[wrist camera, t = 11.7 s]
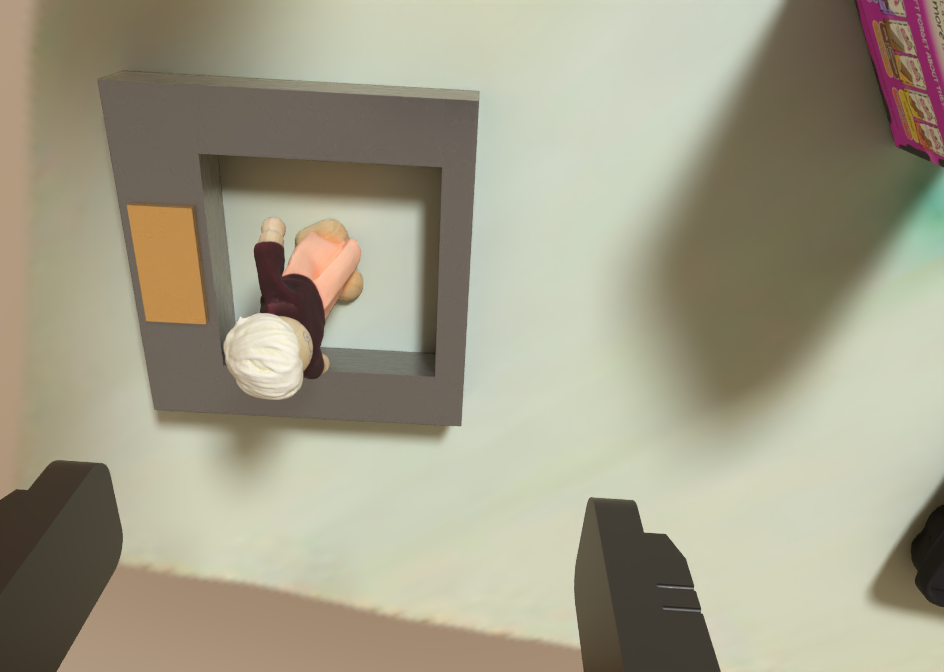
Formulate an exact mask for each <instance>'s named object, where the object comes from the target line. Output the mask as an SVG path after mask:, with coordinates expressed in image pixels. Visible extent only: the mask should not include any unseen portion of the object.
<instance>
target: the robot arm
mask: <svg viewBox="0 0 944 672" xmlns="http://www.w3.org/2000/svg"><path fill="white" fill-rule="evenodd" d="M122 543H123V533H122V527H121V523H120V518H119V513H118V508H117V504H116V499H115V494H114V490H113V485H112V480H111V476H110V472H109V469H108V467H107V466H106V465H105V464H103V463H92V462H77V461H62V460H56V461H53V462H52V463H50V464H49V465H48V466H47V467H46V469H45V470H44V471H43V472H42V473H41V475H40V476H39V477H38V478H37V480H36V481H35V482H34V483H33V484H32V486H31V487H30V488H29V489H28V490H17V489H16V490H15V491H13V492H12V493H10V494H9V495H7V496H6V497H4V498H3V499H1V500H0V672H56V671H57V670H58V668H59V666H60V664H61V663H62V661H63V659H64V658H65V656H66V654H67V652H68V650H69V649H70V647H71V645H72V644H73V642H74V640H75V639H76V637H77V635H78V633H79V632H80V630H81V628H82V626H83V625H84V623H85V621H86V619H87V617H88V616H89V614H90V612H91V611H92V609H93V607H94V606H95V604H96V602H97V601H98V599H99V597H100V595H101V594H102V592H103V590H104V588H105V587H106V585H107V583H108V582H109V580H110V578H111V576H112V575H113V573H114V571H115V569H116V567H117V565H118V562H119V559H120V555H121V550H122ZM574 593H575V605H576V613H577V621H578V629H579V637H580V645H581V653H582V660H583V668H584V672H721V671H720V668H719V665H718V661H717V658H716V655H715V652H714V648H713V645H712V642H711V639H710V636H709V632H708V629H707V626H706V623H705V619H704V616H703V614H701V606H700V603H699V600H698V597H697V594H696V591H694V584H693V581H692V577H691V574H690V571H689V568H688V564H687V561H686V558H685V557H684V556H683V555H682V553H681V552H680V551H679V550H678V549H677V547H676V546H675V545H674V544H673V542H672V541H671V540H670V539H669V537H668V536H667V535H666V534H656V533H644V531H643V527H642V523H641V519H640V515H639V511H638V508H637V505H636V502H635V501H633V500H622V499H607V498H592V497H591V498H589V500H588V503H587V507H586V512H585V517H584V523H583V528H582V533H581V538H580V544H579V549H578V554H577V560H576V566H575V579H574Z"/></svg>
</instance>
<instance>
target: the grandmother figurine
mask: <svg viewBox="0 0 944 672" xmlns="http://www.w3.org/2000/svg"><path fill="white" fill-rule="evenodd" d="M261 231H262V234H261V235H260V238H259V242H258V243H257V244H256V245H255V247H254V257H255V261H256V267H257V272H258V279H259V285H260V290H261V294H262V296H261V299H260V303H261V309H260V313H257V314H254V315H252V316H249V317H247V318H241V316H240V317H239V319H238V320H237V322H236V324H235V326H234V328H232V329H231V330H230V332H229V333H228V334H227V336H226V339H225V342H224V353H225V362H226V365H227V367H228V369H229V371H230V373H231V374H232V375H233V376H234V378H235V379H236V382H237V384H238V386H239V387H240V388H241V389H242V390H243V391H244V392H245V393H247V394H249V395H251V396H254V397H256V398H261V399H269V400H281V399H287V398H290V397H291V396H293V395H294V394H295V393H296V392H297V391H298V390H299V389H300V387H301V385H302V382H303V377H304V378H307V379H317V378H318V377H320V375H321V374H323V373H325V372H326V371H327V370H328V368H329V365H330V364H329V359H328V357H327V356H326V355H324V354H322V352H321V349H320V346H321V342H322V339H323V334H324V326H325V320H326V318H327V316H328V314H329V313H330V311H331V309H332V308H333V306H334V305H335V303H336V302H337V300H338V299H340V300H345V301H350V300H353V299H355V298H357V297H358V296H359V295H360V294H361V292H362V290H363V278H362V276H361V274H360V273H359V271H358V270H357V269H356V267H357V265H358V264H359V261H360V258H361V250H360V247H359V245H358V243H357V242H356V241H355V240H354V239H349V237H348V234H347V231H346V229H345V227H344V226H343V225H342V224H341V223H339V222H338V221H336V220H331V219H326V220H323V221H320V222H318V223H316V224H314V225H311V226H309V227H307V228H305V229H303V230H301V231H300V232H299V233H298V234H297V235H296V248H295V249H294V252H293V254H292V255H291V257H290V259H289V262H288V266H287V268H286V269H285V271H284V263H285V258H284V247H283V245H284V240H283V237H284V235H285V232H286V227H285V224H284V222H283V221H282V220H281V219H279V218H276V217H270V218H267V219H266V220H264V222H263V223H262V227H261Z"/></svg>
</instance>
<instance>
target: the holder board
mask: <svg viewBox="0 0 944 672" xmlns="http://www.w3.org/2000/svg"><path fill="white" fill-rule="evenodd" d="M98 85H99V91H100V96H101V102H102V108H103V114H104V120H105V125H106V131H107V137H108V143H109V149H110V155H111V160H112V166H113V172H114V178H115V184H116V189H117V195H118V201H119V207H120V213H121V218H122V224H123V230H124V236H125V242H126V247H127V253H128V259H129V265H130V271H131V276H132V282H133V288H134V294H135V300H136V305H137V311H138V317H139V323H140V329H141V335H142V340H143V346H144V352H145V358H146V364H147V369H148V375H149V381H150V387H151V393H152V398H153V404H154V410H167V411H185V412H204V413H223V414H242V415H260V416H279V417H298V418H316V419H335V420H354V421H373V422H391V423H410V424H429V425H448V426H461V421H462V403H463V384H464V366H465V347H466V329H467V311H468V292H469V274H470V255H471V237H472V219H473V200H474V182H475V163H476V145H477V127H478V108H479V91H469V90H451V89H433V88H416V87H398V86H381V85H363V84H346V83H328V82H311V81H293V80H275V79H258V78H240V77H223V76H205V75H188V74H170V73H153V72H135V71H121V72H118V73H115V74H112V75H109V76H106V77H103V78H100V79H98ZM218 155H230V156H248V157H266V158H283V159H301V160H319V161H337V162H355V163H372V164H390V165H408V166H426V167H442V184H441V214H440V244H439V273H438V303H437V333H436V354H435V353H416V352H398V351H379V350H361V349H342V348H324V347H320V349H321V352H322V354H324V355H326V356H327V357H328V359H329V364H330V365H329V368H328V370H327V371H326V372H325V373H323V374H321V375H320V377H318V378H317V379H307V378H304V377H303V382H302V385H301V387H300V389H299V390H298V391H297V392H296V393H295V394H294V395H293V396H291V397H290V398H287V399H281V400H269V399H261V398H256V397H254V396H251V395H249V394H247V393H245V392H244V391H243V390H242V389H241V388H240V387H239V386H238V384H237V382H236V379H235V378H234V376H233V375H232V374H231V373H230V371H229V369H228V367H227V365H226V362H225V353H224V342H225V339H226V336H227V334H228V333H229V332H230V330H231V329H232V328H234V326H235V324H236V323H235V313H234V304H233V294H232V285H231V275H230V266H229V256H228V247H227V237H226V228H225V219H224V209H223V200H222V190H221V181H220V171H219V162H218Z"/></svg>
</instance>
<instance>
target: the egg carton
mask: <svg viewBox="0 0 944 672" xmlns="http://www.w3.org/2000/svg"><path fill="white" fill-rule="evenodd" d="M911 554H912V561H913V564H914V566H915V567H916V569H917V571H918V572H917V575H916V578H915V584H916V586H917V587H918V589H919V590H920V591H921V592H922V594H923V595H924V596H925V597H926V599H927V600H928V601H929V602H931V603H933V604H935V605H938V606H941V607H944V505H943V506H940V507H938V508H937V509H936V510H935V511H933V512H932V514H931V515H930V516H929V518H928V520H927V523H926V525H925V527H924V529H923V531H922V532H921V533H920V534H918V536H917V537H916V538H915V539H914V540H913V542H912V546H911Z"/></svg>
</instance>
